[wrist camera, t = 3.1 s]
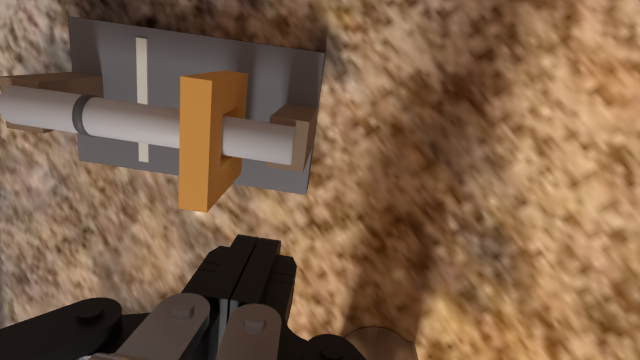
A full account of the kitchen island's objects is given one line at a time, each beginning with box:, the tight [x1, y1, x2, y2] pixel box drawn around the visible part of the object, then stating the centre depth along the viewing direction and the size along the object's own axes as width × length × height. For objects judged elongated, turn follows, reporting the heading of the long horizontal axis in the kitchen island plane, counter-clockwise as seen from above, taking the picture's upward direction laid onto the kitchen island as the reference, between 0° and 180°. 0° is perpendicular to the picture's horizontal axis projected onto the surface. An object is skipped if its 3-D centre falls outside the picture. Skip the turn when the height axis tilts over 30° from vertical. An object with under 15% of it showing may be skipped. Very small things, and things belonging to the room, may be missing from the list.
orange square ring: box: [179, 70, 248, 213], centre depth 29 cm, size 2×9×9 cm, turn 172°
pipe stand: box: [0, 16, 326, 195], centre depth 33 cm, size 24×14×12 cm, turn 82°
